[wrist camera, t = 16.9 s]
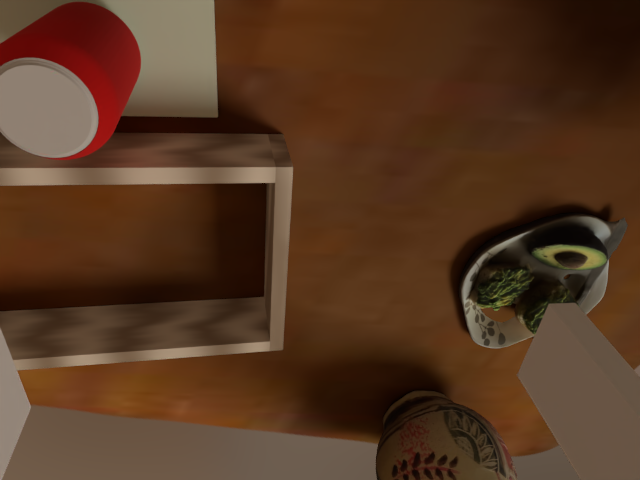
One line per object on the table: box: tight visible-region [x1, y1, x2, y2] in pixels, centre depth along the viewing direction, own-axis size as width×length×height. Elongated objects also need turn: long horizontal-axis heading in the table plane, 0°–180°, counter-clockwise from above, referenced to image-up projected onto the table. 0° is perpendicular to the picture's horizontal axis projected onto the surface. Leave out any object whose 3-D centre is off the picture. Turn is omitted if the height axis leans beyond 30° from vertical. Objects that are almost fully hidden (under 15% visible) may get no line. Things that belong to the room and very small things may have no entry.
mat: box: [0, 0, 218, 117], centre depth 33 cm, size 16×9×1 cm, turn 85°
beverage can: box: [0, 2, 141, 160], centre depth 28 cm, size 6×6×12 cm
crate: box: [0, 133, 293, 370], centre depth 39 cm, size 26×18×6 cm
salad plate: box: [459, 213, 627, 348], centre depth 52 cm, size 19×18×5 cm
